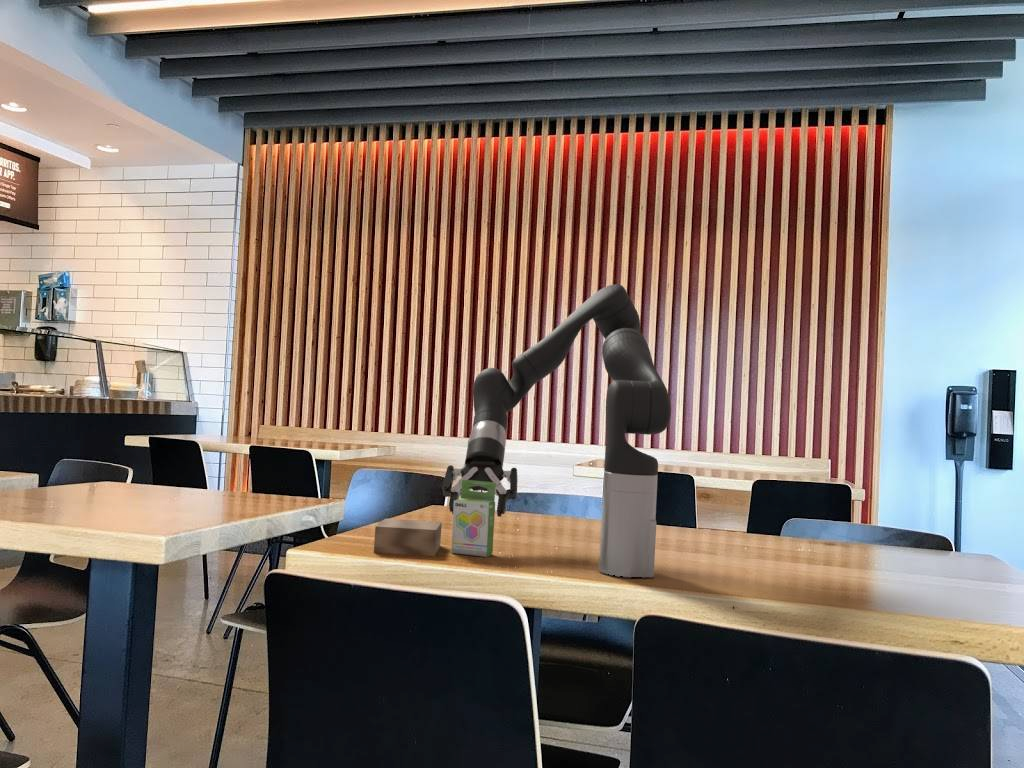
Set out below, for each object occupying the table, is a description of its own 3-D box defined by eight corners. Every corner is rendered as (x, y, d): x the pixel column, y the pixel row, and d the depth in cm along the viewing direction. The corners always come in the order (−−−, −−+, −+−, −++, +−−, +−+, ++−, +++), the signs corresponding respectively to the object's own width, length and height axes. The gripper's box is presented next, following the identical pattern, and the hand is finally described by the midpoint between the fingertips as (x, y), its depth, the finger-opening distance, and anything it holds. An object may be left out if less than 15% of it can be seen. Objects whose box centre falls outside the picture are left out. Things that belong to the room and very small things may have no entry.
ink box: (450, 553, 148) (454, 480, 149) (457, 550, 152) (462, 479, 152) (486, 557, 146) (490, 483, 147) (492, 554, 150) (497, 482, 150)
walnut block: (440, 547, 156) (441, 521, 156) (434, 557, 145) (436, 530, 145) (383, 544, 156) (385, 518, 156) (373, 554, 145) (375, 526, 145)
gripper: (522, 462, 164) (515, 527, 152) (453, 459, 165) (440, 523, 154) (520, 436, 159) (513, 502, 147) (449, 434, 160) (436, 499, 148)
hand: (476, 513), depth 150 cm, fingers open, 8 cm apart
